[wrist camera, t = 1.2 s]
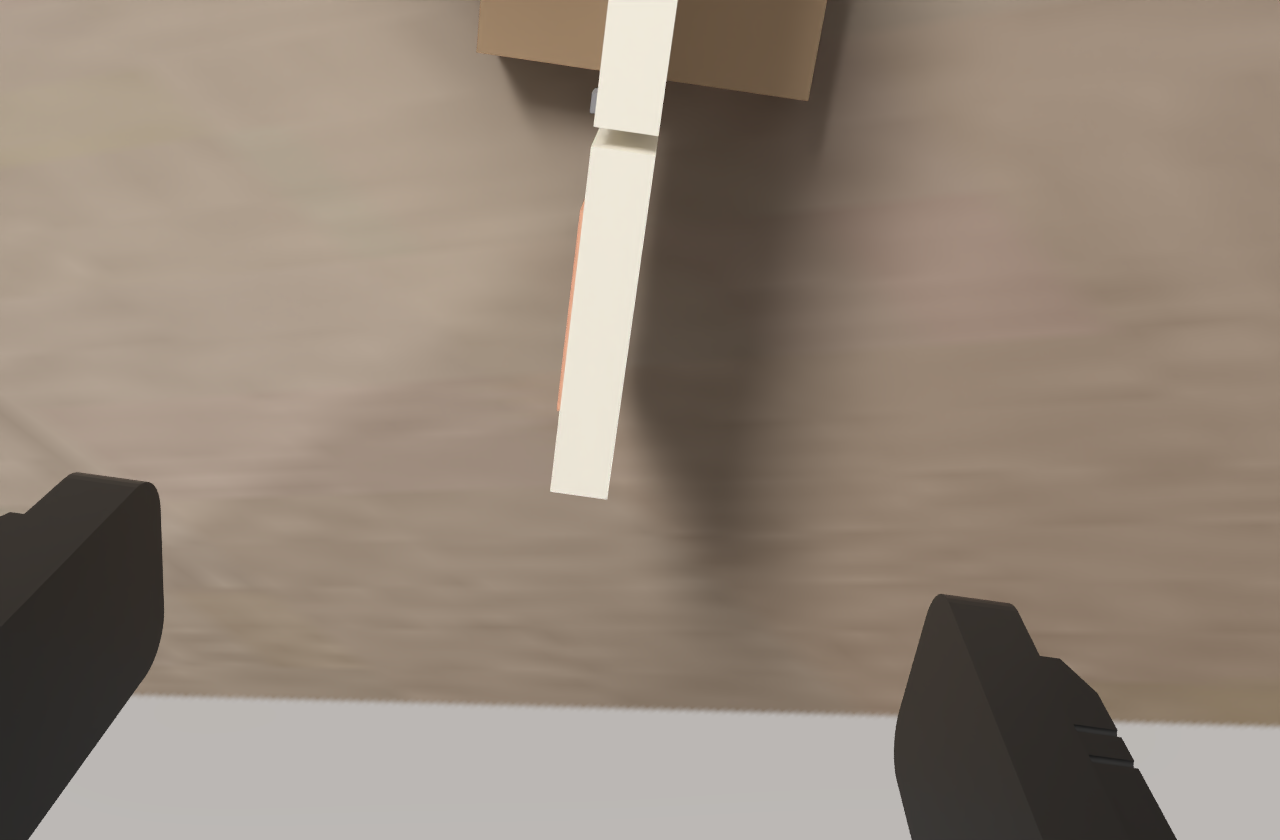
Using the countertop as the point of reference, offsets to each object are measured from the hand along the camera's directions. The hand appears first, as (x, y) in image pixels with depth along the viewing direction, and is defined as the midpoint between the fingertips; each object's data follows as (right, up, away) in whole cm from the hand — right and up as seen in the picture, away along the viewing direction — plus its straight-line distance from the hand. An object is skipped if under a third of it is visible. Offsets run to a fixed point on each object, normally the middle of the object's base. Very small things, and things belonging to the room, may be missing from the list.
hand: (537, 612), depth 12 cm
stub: (+1, +6, +13) cm, 15 cm away
